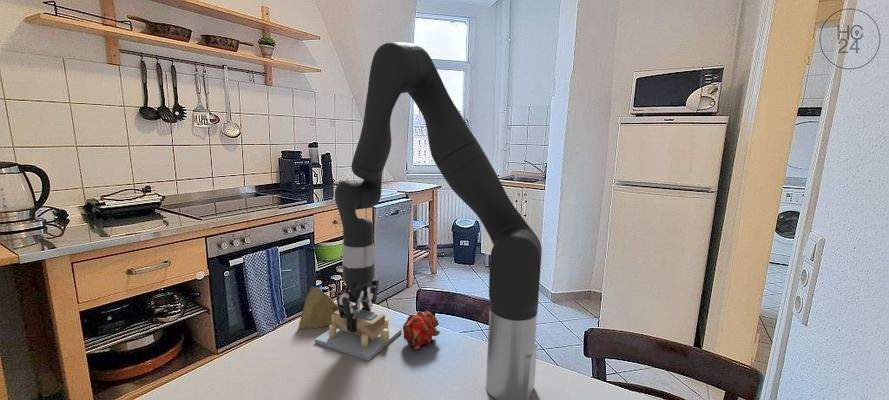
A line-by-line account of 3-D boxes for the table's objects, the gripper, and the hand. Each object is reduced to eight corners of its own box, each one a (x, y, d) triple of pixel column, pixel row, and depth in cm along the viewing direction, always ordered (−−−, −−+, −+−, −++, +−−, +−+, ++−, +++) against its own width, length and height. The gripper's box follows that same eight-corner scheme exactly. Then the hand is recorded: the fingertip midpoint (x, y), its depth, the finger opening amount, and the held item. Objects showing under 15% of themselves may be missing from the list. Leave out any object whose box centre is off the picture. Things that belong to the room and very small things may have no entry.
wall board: (403, 333, 99) (403, 318, 98) (371, 361, 86) (371, 344, 85) (350, 318, 106) (350, 304, 105) (313, 342, 93) (312, 327, 93)
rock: (352, 308, 107) (320, 298, 109) (345, 293, 101) (312, 283, 103) (333, 345, 100) (300, 334, 102) (324, 331, 94) (289, 320, 96)
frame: (384, 330, 95) (384, 314, 94) (372, 339, 91) (372, 322, 90) (346, 319, 100) (346, 303, 100) (333, 327, 96) (333, 311, 95)
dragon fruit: (432, 336, 100) (415, 368, 89) (407, 316, 101) (387, 345, 90) (450, 317, 97) (434, 348, 86) (424, 296, 97) (405, 323, 86)
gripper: (364, 251, 101) (364, 311, 103) (325, 267, 88) (327, 336, 91) (388, 255, 97) (387, 318, 100) (352, 273, 85) (353, 344, 87)
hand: (359, 326), depth 95 cm, fingers closed on frame, 5 cm apart
